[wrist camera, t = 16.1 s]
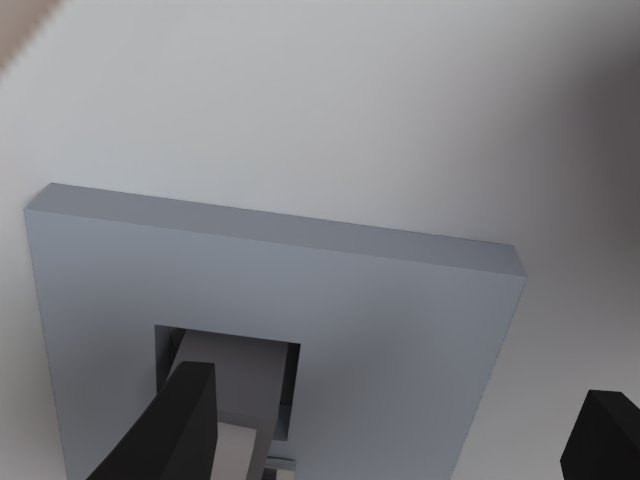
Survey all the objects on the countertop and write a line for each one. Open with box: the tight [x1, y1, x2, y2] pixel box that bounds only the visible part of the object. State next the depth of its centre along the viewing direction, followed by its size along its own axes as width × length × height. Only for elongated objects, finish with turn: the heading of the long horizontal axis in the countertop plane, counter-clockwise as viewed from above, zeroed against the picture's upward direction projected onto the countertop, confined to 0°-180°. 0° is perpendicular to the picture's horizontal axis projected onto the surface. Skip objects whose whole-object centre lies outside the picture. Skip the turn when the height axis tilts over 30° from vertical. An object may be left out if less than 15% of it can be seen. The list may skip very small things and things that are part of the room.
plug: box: [166, 329, 289, 480], centre depth 22 cm, size 4×4×6 cm
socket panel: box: [24, 183, 527, 480], centre depth 24 cm, size 17×16×2 cm
